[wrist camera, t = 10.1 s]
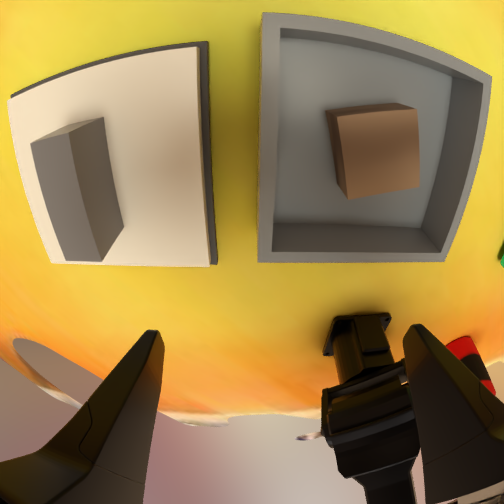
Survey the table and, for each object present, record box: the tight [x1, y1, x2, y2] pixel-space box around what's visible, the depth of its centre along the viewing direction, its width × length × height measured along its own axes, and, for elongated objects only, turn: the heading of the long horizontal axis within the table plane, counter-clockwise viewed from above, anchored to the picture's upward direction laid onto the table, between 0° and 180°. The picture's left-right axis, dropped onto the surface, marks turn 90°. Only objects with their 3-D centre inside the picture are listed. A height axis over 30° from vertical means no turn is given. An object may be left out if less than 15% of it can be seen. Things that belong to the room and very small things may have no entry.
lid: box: [7, 47, 211, 267], centre depth 15 cm, size 15×15×5 cm
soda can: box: [446, 337, 496, 395], centre depth 28 cm, size 8×8×12 cm
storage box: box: [257, 12, 492, 263], centre depth 15 cm, size 14×14×4 cm
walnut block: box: [325, 103, 420, 200], centre depth 15 cm, size 5×5×2 cm
